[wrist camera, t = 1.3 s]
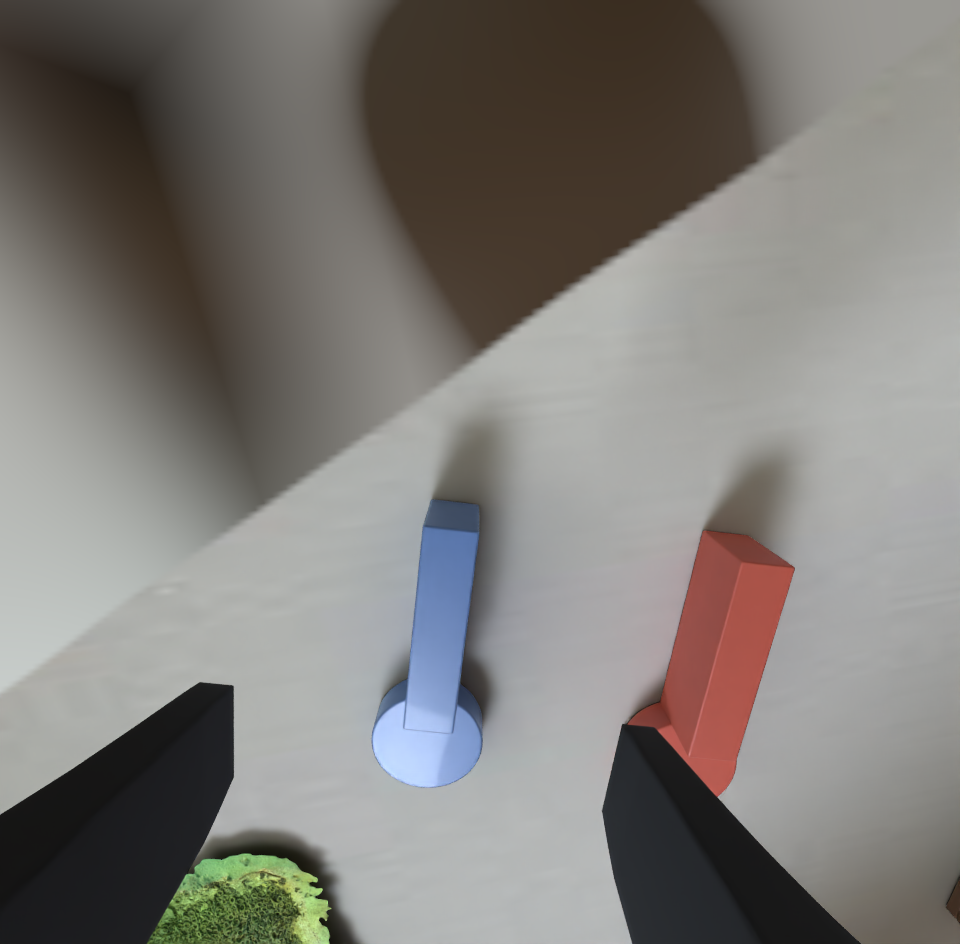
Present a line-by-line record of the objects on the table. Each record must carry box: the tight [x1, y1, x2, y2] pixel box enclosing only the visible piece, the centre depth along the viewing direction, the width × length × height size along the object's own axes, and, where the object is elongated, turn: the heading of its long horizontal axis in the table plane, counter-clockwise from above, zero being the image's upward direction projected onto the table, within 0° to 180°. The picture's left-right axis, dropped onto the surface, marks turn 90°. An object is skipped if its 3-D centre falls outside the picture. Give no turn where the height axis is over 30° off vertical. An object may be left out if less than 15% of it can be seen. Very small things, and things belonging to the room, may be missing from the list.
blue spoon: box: [372, 499, 483, 788], centre depth 14 cm, size 9×3×2 cm, turn 173°
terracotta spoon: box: [628, 531, 795, 797], centre depth 14 cm, size 9×3×2 cm, turn 173°
